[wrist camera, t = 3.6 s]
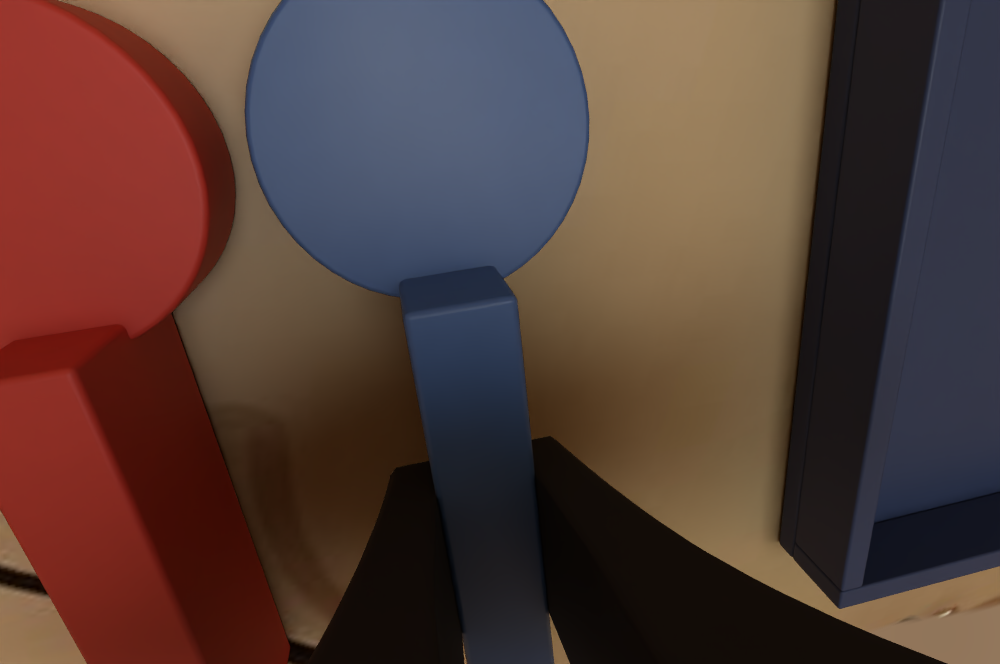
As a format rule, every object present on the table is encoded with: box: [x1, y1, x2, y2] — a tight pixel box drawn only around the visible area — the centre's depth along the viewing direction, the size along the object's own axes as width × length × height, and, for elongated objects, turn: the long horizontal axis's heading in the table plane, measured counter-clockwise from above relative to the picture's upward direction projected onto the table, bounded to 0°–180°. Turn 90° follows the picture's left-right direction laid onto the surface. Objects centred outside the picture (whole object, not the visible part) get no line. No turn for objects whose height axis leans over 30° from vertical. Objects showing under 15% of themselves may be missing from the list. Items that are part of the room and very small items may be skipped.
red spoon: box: [0, 0, 290, 664], centre depth 8 cm, size 12×4×3 cm, turn 6°
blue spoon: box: [245, 0, 589, 664], centre depth 9 cm, size 12×4×3 cm, turn 6°
